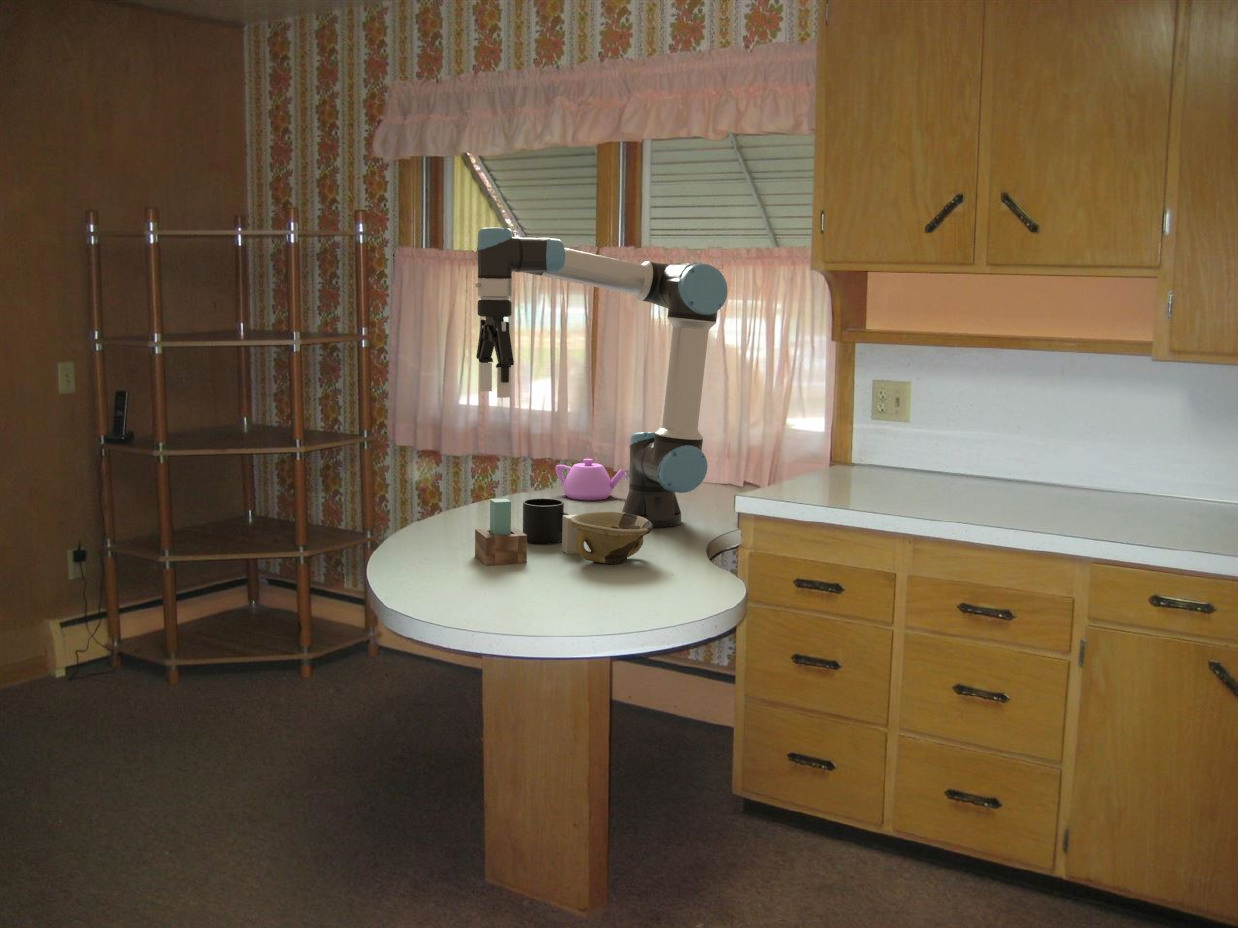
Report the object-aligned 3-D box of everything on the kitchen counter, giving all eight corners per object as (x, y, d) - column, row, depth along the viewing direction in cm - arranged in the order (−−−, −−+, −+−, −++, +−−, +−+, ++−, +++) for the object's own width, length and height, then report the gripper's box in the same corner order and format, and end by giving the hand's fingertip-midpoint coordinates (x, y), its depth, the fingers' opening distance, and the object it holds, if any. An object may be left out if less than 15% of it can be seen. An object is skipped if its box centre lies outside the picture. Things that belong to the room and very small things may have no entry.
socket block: (514, 553, 267) (514, 526, 266) (526, 562, 259) (527, 535, 258) (475, 555, 264) (475, 529, 263) (486, 565, 255) (486, 537, 254)
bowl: (592, 574, 250) (593, 529, 248) (556, 555, 266) (557, 513, 264) (666, 567, 258) (667, 523, 257) (627, 549, 274) (628, 507, 272)
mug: (565, 547, 274) (565, 508, 273) (516, 542, 278) (516, 504, 276) (579, 539, 283) (579, 501, 282) (531, 534, 286) (532, 497, 285)
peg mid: (577, 549, 273) (577, 514, 271) (582, 552, 269) (583, 517, 268) (562, 550, 271) (562, 515, 270) (567, 553, 268) (567, 518, 267)
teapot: (622, 503, 329) (623, 464, 327) (550, 499, 331) (551, 461, 330) (628, 494, 343) (629, 457, 341) (559, 490, 345) (560, 454, 343)
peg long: (505, 557, 263) (506, 498, 261) (510, 560, 260) (511, 501, 258) (489, 558, 262) (490, 499, 260) (494, 561, 259) (494, 502, 257)
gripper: (462, 297, 277) (463, 389, 280) (494, 300, 254) (494, 400, 258) (494, 297, 280) (494, 388, 283) (528, 300, 257) (528, 399, 261)
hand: (494, 394), depth 270 cm, fingers open, 13 cm apart
